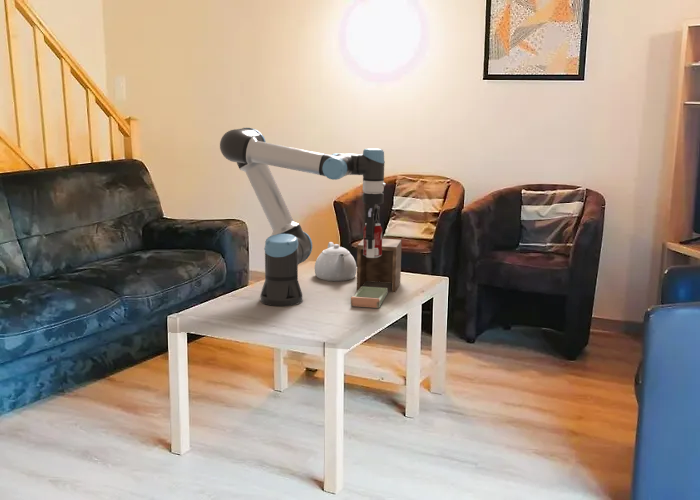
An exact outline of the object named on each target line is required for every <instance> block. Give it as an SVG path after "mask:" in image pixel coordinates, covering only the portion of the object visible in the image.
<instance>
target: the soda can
mask: <svg viewBox="0 0 700 500" xmlns="http://www.w3.org/2000/svg"><path fill="white" fill-rule="evenodd" d="M369 236H371V235H369ZM362 237H363V239H362V240H363V255H364V256H366V257H367V240H365V238H366V223H365V224H364V227H363V236H362ZM382 239H383V227H382V226H381V223H380V222H379V223H375V230H374V240H375V246H374V258H378V257H379V256H381V255H382Z"/></svg>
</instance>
